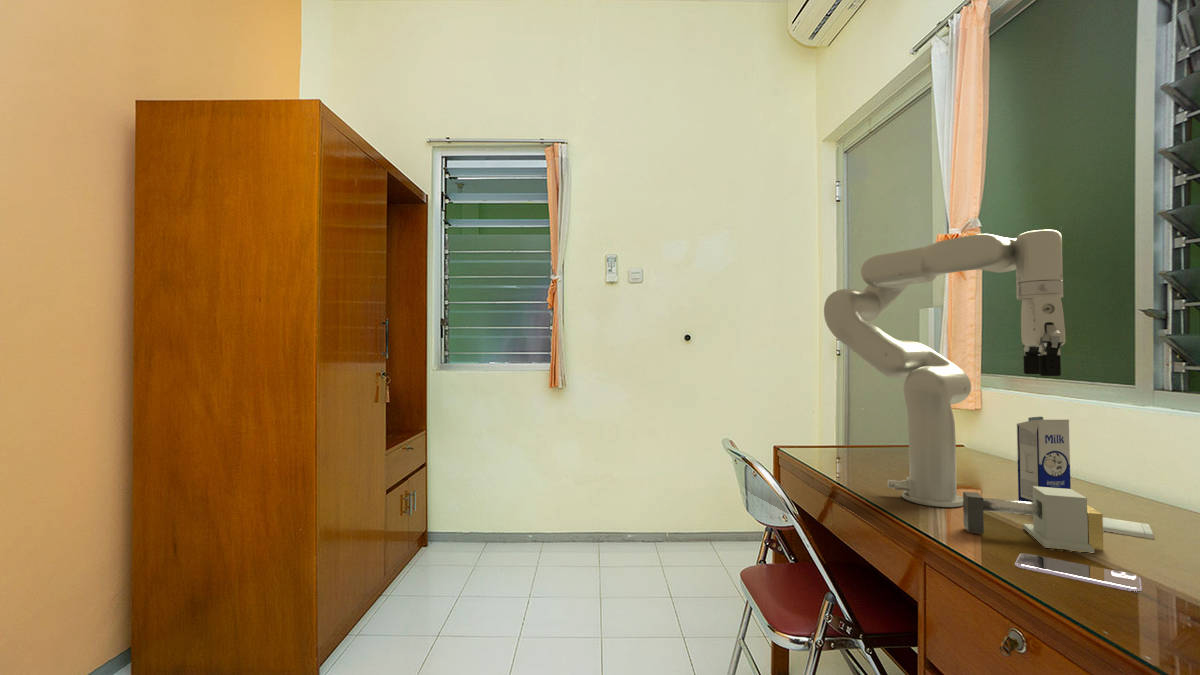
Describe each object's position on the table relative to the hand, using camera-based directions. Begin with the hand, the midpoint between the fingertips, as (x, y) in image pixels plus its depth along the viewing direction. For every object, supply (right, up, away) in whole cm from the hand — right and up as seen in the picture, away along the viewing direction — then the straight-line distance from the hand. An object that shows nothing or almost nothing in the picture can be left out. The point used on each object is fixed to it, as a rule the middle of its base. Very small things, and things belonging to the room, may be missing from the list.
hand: (1041, 374), depth 113 cm
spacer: (-1, -30, -12) cm, 32 cm away
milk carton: (+12, -31, +14) cm, 36 cm away
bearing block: (-5, -30, -11) cm, 32 cm away
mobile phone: (-15, -30, -25) cm, 42 cm away
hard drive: (+11, -31, -3) cm, 33 cm away
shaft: (-11, -30, -8) cm, 33 cm away
